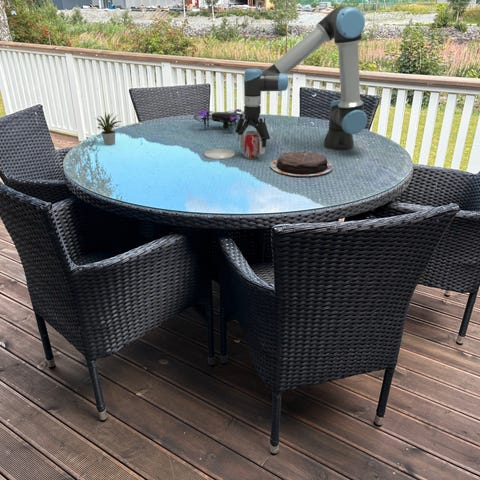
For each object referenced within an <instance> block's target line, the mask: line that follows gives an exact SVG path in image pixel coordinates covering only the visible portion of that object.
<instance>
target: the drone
mask: <svg viewBox="0 0 480 480" xmlns="http://www.w3.org/2000/svg"><path fill="white" fill-rule="evenodd" d="M238 112H239V113H238ZM240 114H244V110H242V109H241V108H240V109H239V108H236V109H234V110H233V109H230V110H228V111H214V110H212V111H211V110H210V109H207V110H201V112H197V113H195V114H194V115H193V118H194V120H195V121H198V122H201V123H202V122H203V126H204V128H203V129H204V132H207V128H209V127H210V123H209V121H213V122H218V123H222V128H223V129H224V130H228V129H229V132H230V133H229V134H231V135H232V134H233V133H232V132H233V131H232V127H233V126H234V127H237V124H238V122H239V119H240Z"/></svg>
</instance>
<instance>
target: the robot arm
mask: <svg viewBox="0 0 480 480" xmlns="http://www.w3.org/2000/svg"><path fill="white" fill-rule="evenodd" d="M365 24H366V20H365V16H364V14H363V12H362V11H361V10H360V9H358V8H357V7H354V6H339V7H336V8H334V9H333V10H331V11H330V12H329V13H328V14H327V15H326V16H324V17H323V18H322V19H321V20H320V21H319V22H318V23H317V24H316V26H315V28H314V29H313V30H312V31H310V32H309V33H308V34H307V35H306V36H305V37H303V38H302V39H301V40H300V41H299V42H297V44H295V45H294V46H293V47H292V48H290V49H289V50H288V51H287V52H286V53H285V54H283V56H281V57H280V58H279V59H278V60H276V61H275V62H274V63H273V64H272V65H270V66H269V67H268V68H265V69H263V70H261V69H260V68H247V69H245V71H244V79H243V86H244V87H243V88H244V89H243V91H244V92H243V94H244V96H243V97H244V98H243V101H244V103H243V104H244V106H243V108H244V109H243V111H244V114H242V113H241V114H240V115H239V119H238V120H239V122H238V121H237V123H238V124H236V126H235V129H234V132H235V133H236V134H237V136H238V142H239V143H238V145H239V146H238V149H244V143H245V131H246V129H248V127H249V126H251V127H253V128H255V131H256V132H258V135H259V155H264V154H266V146H267V141H268V140H270V139H271V136H270V134H269V130H268V127H267V124H266V117H260V115H261V110H262V108H261V107H262V106H261V105H262V103H261V102H262V101H261V100H262V99H261V98H262V92H284V91H287V90H288V87H289V76H288V74H289V73H290V72H291V71H293V70H294V69H296V67H298V65H299V64H301V63H302V62H303V61H304V60H306V59H308V57H310V55H311V54H312V53H314V52H315V51H316V50H317V49H319V48H320V47H321V46H322V45H324V44H326V42H327V43H328V42H329V43H330V42H331V41H332V40H333V39H334V41H333V43H334V45H336V46H337V48H338V49H337V51H338V52H337V53H338V69H339V83H340V84H339V85H340V86H339V87H340V88H339V89H340V99H337V100H332V101H331V102H330V107H329V108H330V110H329V121H328V130H327V133H326V135H325V137H324V140H323V147H325V148H327V149H331V150H337V151H338V150H339V151H340V150H341V151H342V150H343V151H344V150H345V151H346V150H350V149H353V148H354V145H355V142H354V137H353V135H357V134H360V133H361V132H362V131H364V129H365V128H366V126H367V124H368V116H367V113H366V112H365V111H364V108H365V107H364V106H365V105H364V101H363V100H362V99H361V96H360V95H361V89H360V61H359V60H360V59H359V58H360V57H359V55H360V54H359V44H360V42H361V41H362V33H363V31H364V28H365V26H366V25H365Z"/></svg>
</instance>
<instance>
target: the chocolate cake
mask: <svg viewBox="0 0 480 480" xmlns="http://www.w3.org/2000/svg"><path fill="white" fill-rule="evenodd" d="M269 167H270V168H271V169H272V170H273V171H274V172H276V173H278V174H280V175H287V176H290V177H292V178H297V177H306V178H314V177H322V176H324V175H327V174H328V173H331V171H332V170H333V164H332V163H331V162H330V161H328V159H327V157H326V155H322V154H320V153H318V152H317V151H316V152H315V151H290V152H284V153H282V154H280V155H279V157H278V158H277V159H275V160H272V161H271V162H270V165H269Z"/></svg>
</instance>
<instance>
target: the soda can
mask: <svg viewBox="0 0 480 480" xmlns="http://www.w3.org/2000/svg"><path fill="white" fill-rule="evenodd" d="M243 149H244V151H243V152H244V157H245V158H246V159H249V160H255V159H257V158H259V156H260V136H259V134H258V132H257V130H248V131H246V132H245V134H244V148H243Z"/></svg>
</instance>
